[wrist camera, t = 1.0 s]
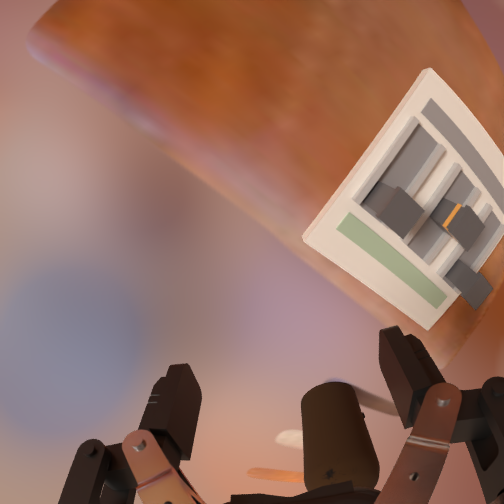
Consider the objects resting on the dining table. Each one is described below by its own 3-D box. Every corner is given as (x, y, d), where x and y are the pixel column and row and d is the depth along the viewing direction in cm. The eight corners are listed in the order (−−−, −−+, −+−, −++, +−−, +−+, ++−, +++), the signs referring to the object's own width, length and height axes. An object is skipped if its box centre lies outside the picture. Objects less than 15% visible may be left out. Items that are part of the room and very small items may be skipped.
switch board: (422, 69, 27) (460, 59, 20) (519, 191, 32) (555, 207, 24) (301, 235, 36) (312, 265, 28) (422, 323, 40) (445, 357, 33)
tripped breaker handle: (442, 193, 31) (470, 206, 25) (458, 211, 31) (485, 226, 26) (426, 217, 32) (451, 233, 26) (442, 234, 33) (467, 252, 27)
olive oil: (285, 410, 48) (292, 542, 25) (319, 371, 44) (345, 521, 21) (335, 422, 49) (355, 540, 26) (370, 386, 45) (409, 515, 22)
